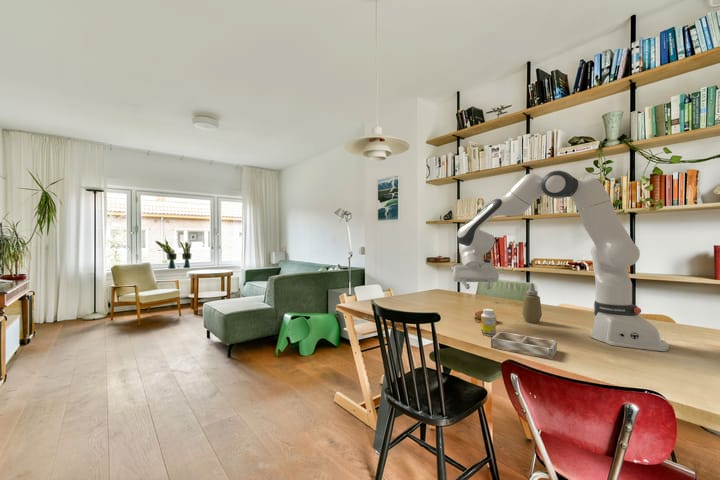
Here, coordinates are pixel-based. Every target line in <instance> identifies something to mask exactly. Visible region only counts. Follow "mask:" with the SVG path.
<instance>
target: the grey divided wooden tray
mask: <svg viewBox="0 0 720 480" xmlns="http://www.w3.org/2000/svg"><path fill="white" fill-rule="evenodd" d="M557 343H558V342H557V340H552V339H546V338H540V337H535V336H528V335H522V334H516V333H511V332H503V331H498V332H496V335H494V336H491V338H490V348H492V349H498V350H503V351H507V352H512V353H517V354H521V355H527V356H532V357H537V358H542V359H547V360H553V358H554V357H555V354H556V353H557V350H558V349H557V348H558V344H557Z"/></svg>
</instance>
